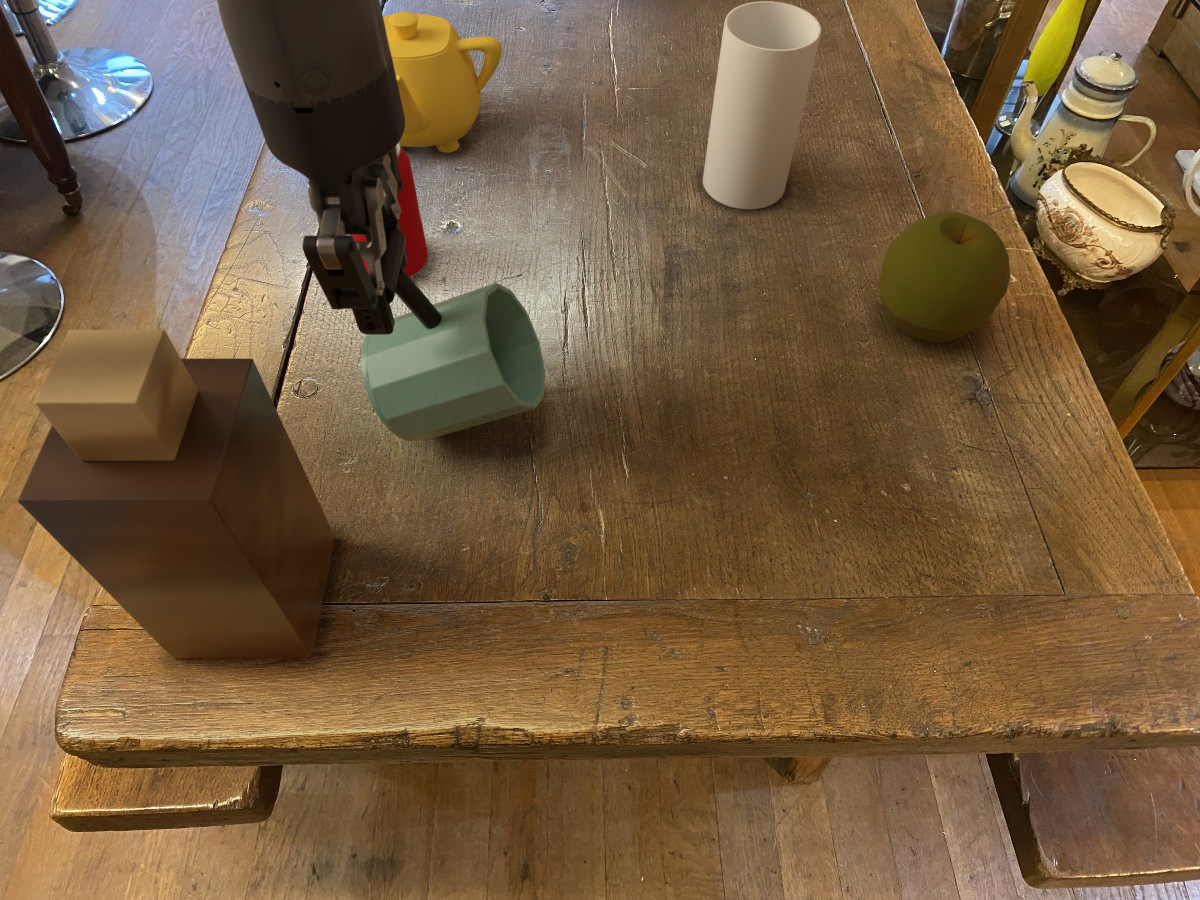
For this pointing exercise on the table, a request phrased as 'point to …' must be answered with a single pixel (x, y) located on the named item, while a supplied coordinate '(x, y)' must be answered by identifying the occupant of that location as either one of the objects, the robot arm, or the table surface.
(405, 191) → the beverage can
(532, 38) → the table surface
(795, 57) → the cup
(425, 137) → the teapot
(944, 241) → the apple
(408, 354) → the mug
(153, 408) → the block
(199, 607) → the block
